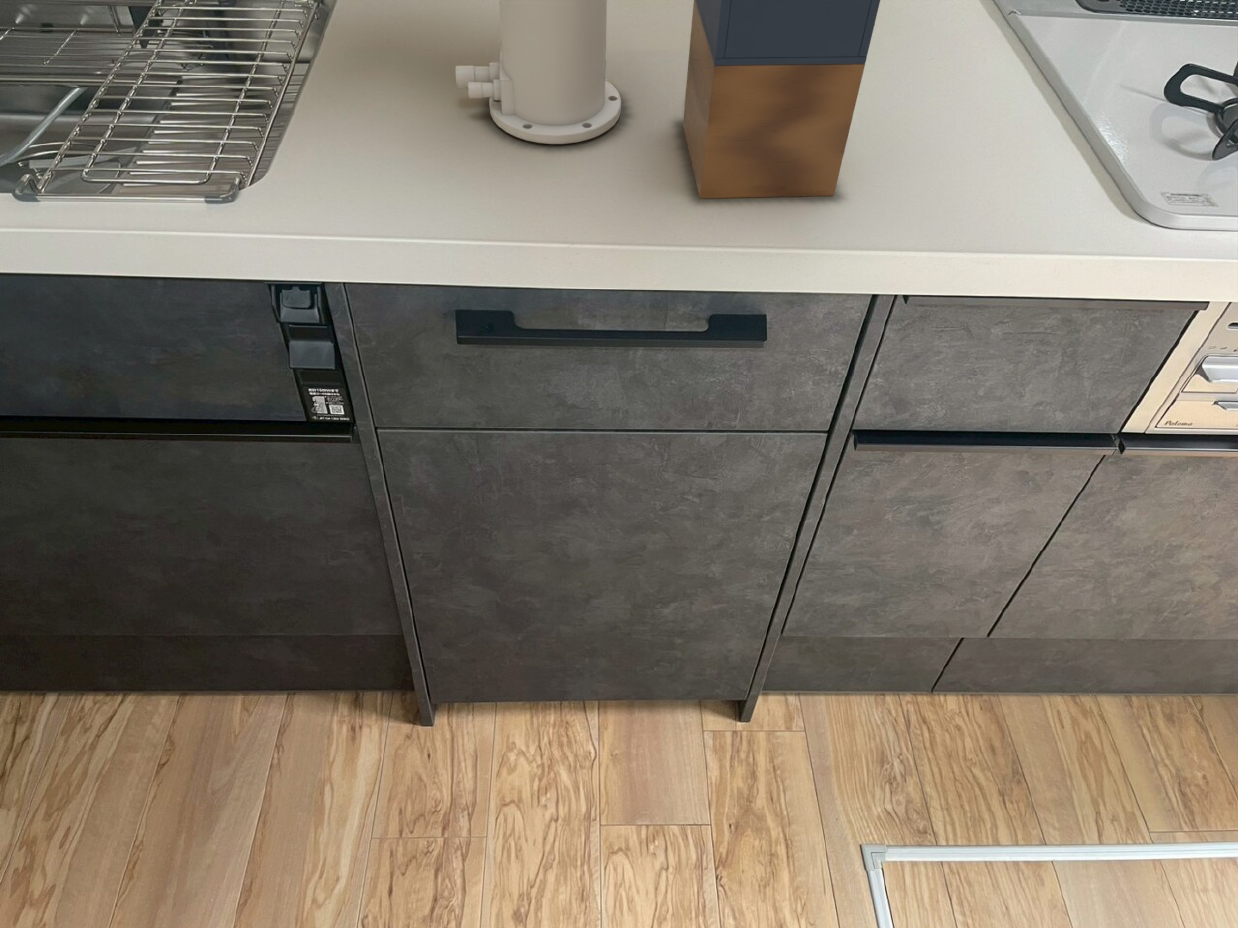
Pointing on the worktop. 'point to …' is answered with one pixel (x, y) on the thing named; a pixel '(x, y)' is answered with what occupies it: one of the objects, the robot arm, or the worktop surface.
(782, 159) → the stand
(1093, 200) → the worktop surface
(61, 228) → the worktop surface
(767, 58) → the slate grey square cap
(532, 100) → the robot arm
